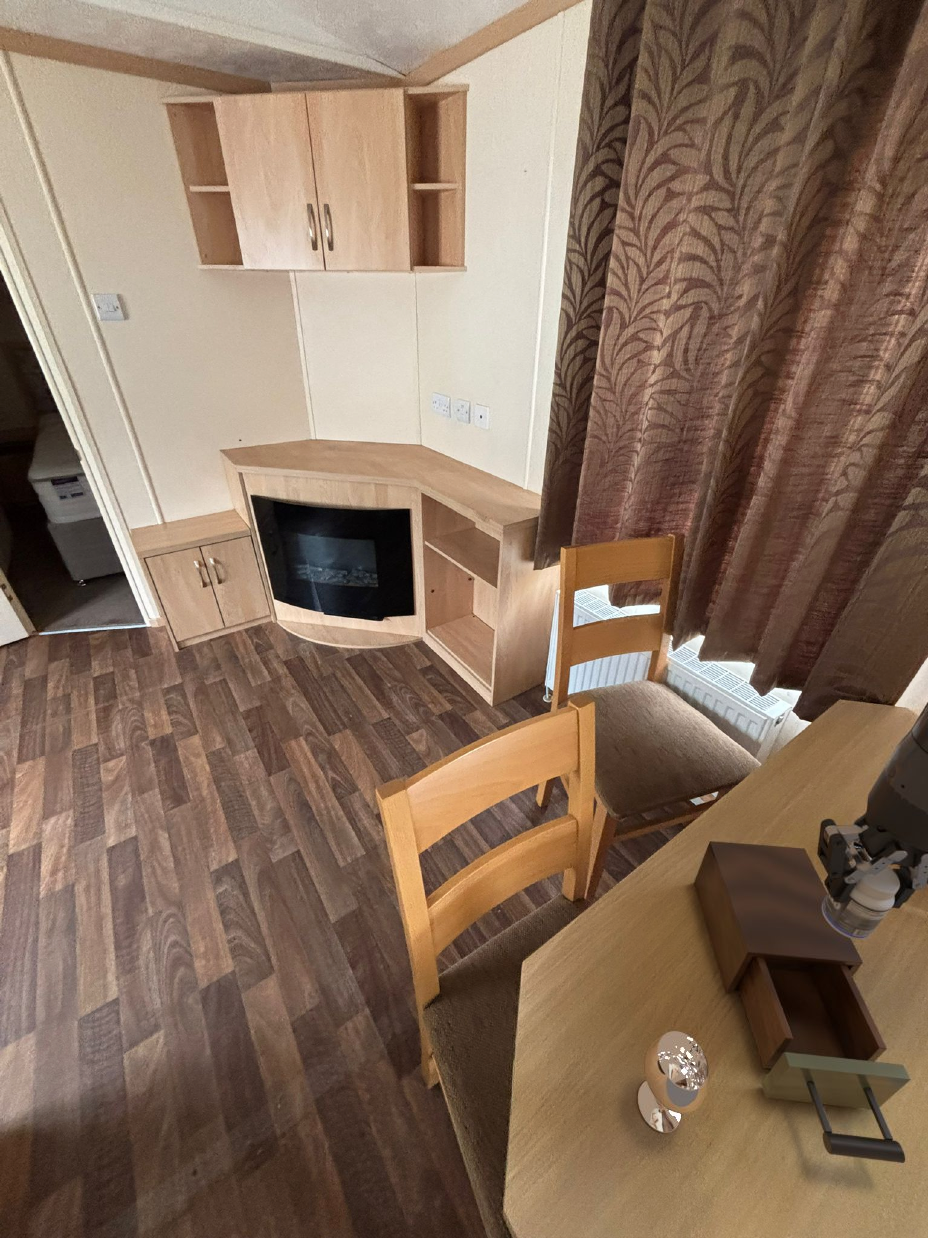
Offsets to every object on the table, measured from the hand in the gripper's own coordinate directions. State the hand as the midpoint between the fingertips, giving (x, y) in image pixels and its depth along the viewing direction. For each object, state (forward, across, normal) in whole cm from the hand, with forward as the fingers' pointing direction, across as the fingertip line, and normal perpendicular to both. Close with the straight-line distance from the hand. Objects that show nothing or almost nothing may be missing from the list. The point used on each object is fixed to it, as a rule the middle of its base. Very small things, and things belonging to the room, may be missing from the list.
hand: (861, 896), depth 55 cm
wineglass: (+21, -20, -13) cm, 32 cm away
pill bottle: (+5, 0, 0) cm, 5 cm away
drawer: (+20, -3, -7) cm, 21 cm away
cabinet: (+21, -3, +6) cm, 22 cm away
